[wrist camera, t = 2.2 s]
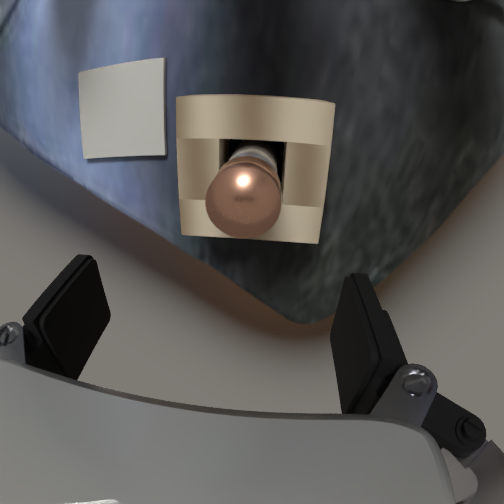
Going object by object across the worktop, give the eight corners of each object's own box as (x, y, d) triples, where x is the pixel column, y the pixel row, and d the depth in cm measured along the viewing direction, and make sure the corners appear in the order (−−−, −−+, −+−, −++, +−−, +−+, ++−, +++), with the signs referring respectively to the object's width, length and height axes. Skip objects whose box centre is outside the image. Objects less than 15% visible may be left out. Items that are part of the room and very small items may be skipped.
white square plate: (165, 57, 24) (163, 57, 23) (167, 153, 29) (165, 155, 28) (81, 72, 24) (78, 72, 24) (86, 157, 29) (83, 158, 29)
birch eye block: (323, 100, 25) (335, 103, 20) (311, 215, 31) (317, 243, 26) (195, 94, 26) (175, 97, 21) (196, 208, 32) (181, 234, 27)
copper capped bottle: (280, 134, 27) (284, 170, 16) (277, 178, 30) (278, 240, 18) (233, 132, 28) (204, 166, 16) (232, 175, 30) (206, 236, 19)
